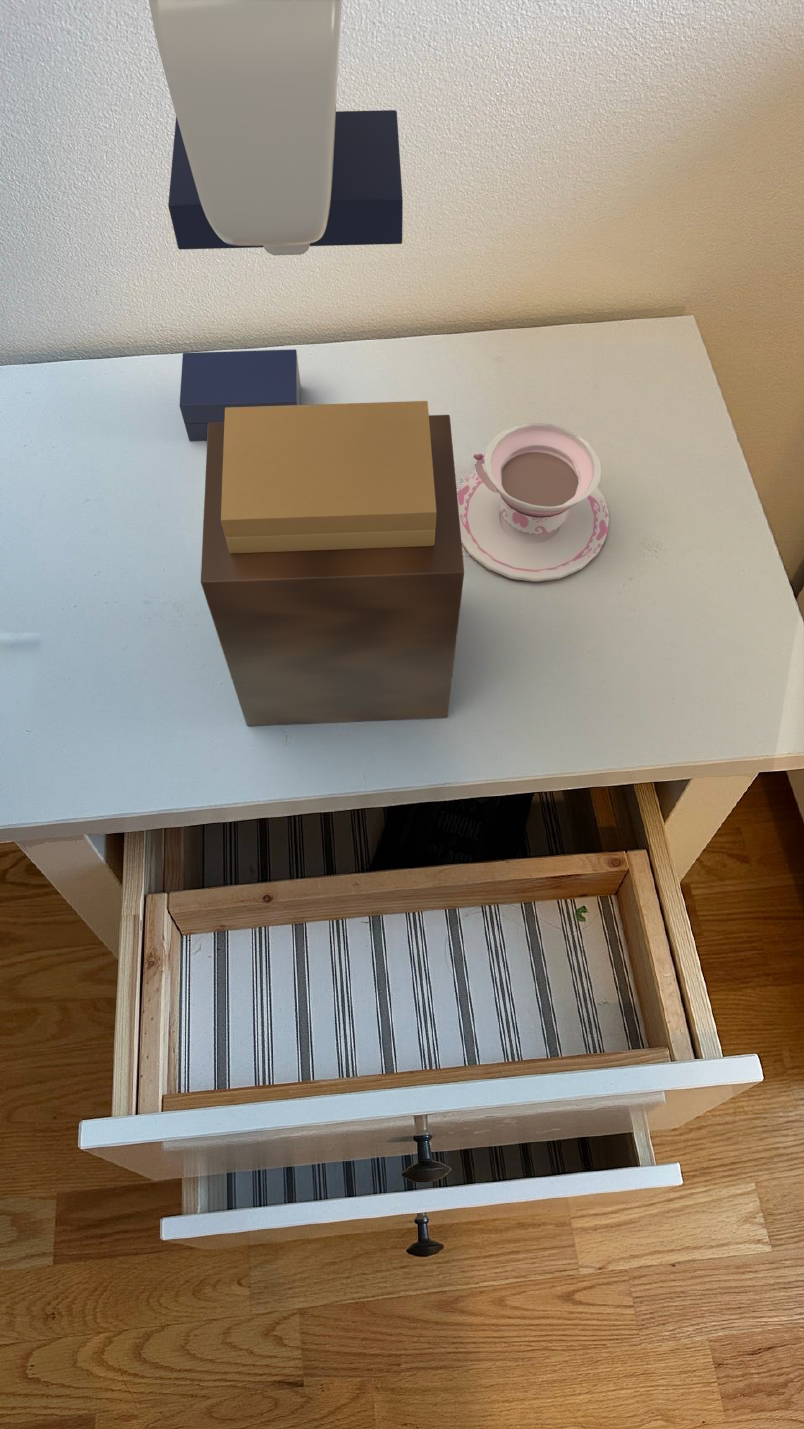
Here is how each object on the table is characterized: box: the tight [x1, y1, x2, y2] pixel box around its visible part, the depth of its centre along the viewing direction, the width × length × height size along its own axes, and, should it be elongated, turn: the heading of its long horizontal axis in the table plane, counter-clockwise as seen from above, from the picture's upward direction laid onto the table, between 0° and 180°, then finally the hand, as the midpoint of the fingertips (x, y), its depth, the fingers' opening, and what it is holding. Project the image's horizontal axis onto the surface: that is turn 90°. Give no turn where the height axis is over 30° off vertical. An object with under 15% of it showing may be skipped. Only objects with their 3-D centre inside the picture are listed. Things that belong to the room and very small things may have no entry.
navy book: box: [167, 109, 404, 250], centre depth 40 cm, size 9×6×2 cm, turn 93°
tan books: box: [221, 400, 436, 554], centre depth 53 cm, size 11×8×3 cm
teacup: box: [457, 422, 610, 583], centre depth 73 cm, size 12×12×6 cm
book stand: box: [200, 414, 465, 727], centre depth 62 cm, size 14×11×18 cm
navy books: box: [179, 348, 302, 442], centre depth 78 cm, size 9×6×4 cm, turn 93°
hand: (288, 185), depth 40 cm, fingers closed on navy book, 5 cm apart
